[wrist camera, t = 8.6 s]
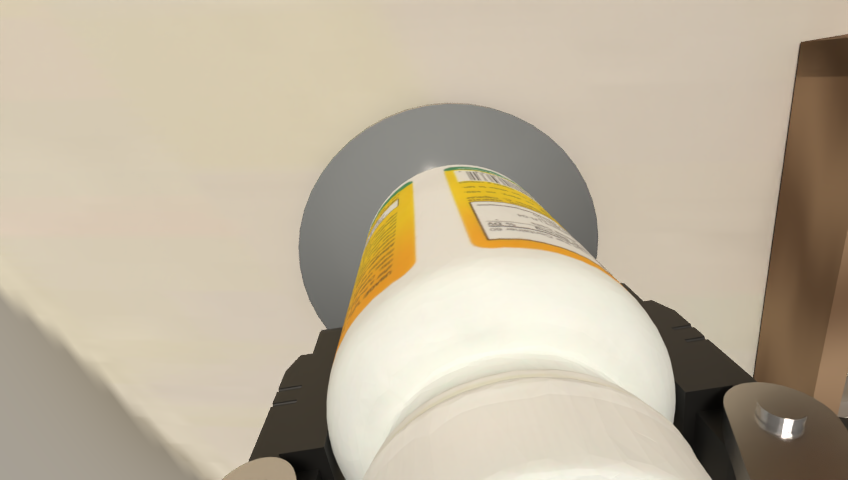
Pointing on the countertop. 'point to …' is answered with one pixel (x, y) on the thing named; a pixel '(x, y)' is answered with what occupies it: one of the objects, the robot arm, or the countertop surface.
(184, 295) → the countertop surface
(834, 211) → the rack
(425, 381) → the supplement bottle
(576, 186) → the coaster
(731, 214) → the countertop surface
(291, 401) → the robot arm
